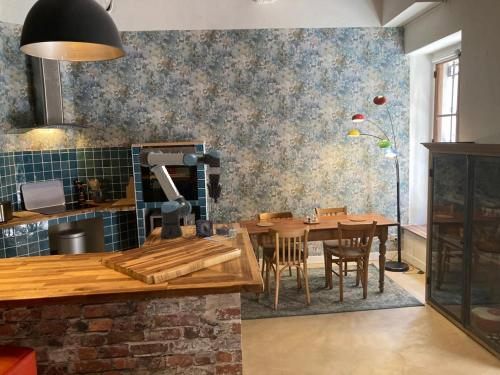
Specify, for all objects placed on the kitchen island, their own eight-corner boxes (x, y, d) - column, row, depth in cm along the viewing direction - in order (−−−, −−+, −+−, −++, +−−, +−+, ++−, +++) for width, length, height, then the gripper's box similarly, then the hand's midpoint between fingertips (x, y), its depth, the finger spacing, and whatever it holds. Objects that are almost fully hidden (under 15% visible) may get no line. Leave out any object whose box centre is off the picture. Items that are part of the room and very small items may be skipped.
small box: (195, 236, 278) (194, 221, 277) (199, 234, 284) (198, 219, 283) (209, 237, 275) (209, 221, 274) (213, 235, 281) (213, 220, 280)
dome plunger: (220, 231, 285) (220, 225, 284) (224, 230, 288) (224, 224, 287) (225, 232, 282) (225, 226, 282) (229, 231, 285) (228, 225, 285)
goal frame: (203, 239, 269) (203, 238, 269) (220, 234, 281) (220, 234, 281) (218, 241, 260) (218, 241, 260) (235, 237, 273) (235, 236, 273)
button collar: (215, 233, 285) (215, 228, 284) (224, 231, 292) (224, 226, 291) (225, 235, 279) (225, 229, 279) (234, 233, 286) (234, 227, 285)
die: (228, 236, 277) (228, 230, 277) (231, 234, 281) (231, 228, 280) (234, 236, 275) (234, 230, 275) (236, 235, 279) (236, 229, 279)
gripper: (203, 173, 280) (203, 207, 282) (217, 174, 272) (217, 209, 275) (211, 172, 286) (210, 206, 288) (225, 173, 278) (225, 208, 281)
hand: (214, 207), depth 282 cm, fingers closed
